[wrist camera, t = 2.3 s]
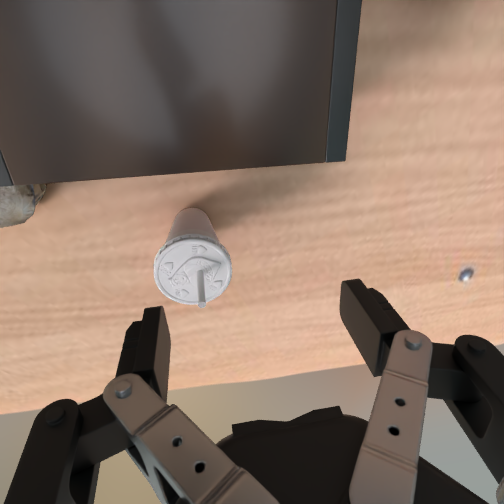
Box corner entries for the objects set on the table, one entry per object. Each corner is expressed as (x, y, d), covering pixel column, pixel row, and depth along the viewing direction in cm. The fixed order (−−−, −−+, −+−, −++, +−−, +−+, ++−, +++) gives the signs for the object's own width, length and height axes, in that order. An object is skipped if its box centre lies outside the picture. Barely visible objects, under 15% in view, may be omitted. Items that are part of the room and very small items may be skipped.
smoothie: (231, 238, 38) (251, 323, 26) (176, 259, 39) (172, 352, 26) (209, 185, 35) (220, 255, 23) (149, 208, 35) (129, 289, 23)
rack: (54, 142, 31) (-12, 187, 21) (7, -12, 26) (-115, -56, 15) (297, 128, 34) (345, 161, 23) (302, -16, 28) (368, -55, 18)
